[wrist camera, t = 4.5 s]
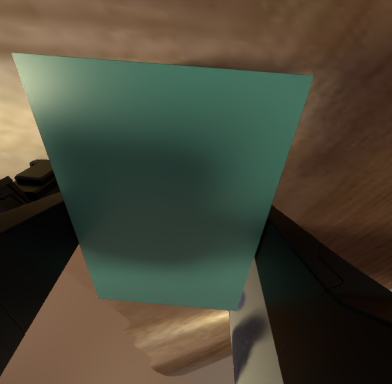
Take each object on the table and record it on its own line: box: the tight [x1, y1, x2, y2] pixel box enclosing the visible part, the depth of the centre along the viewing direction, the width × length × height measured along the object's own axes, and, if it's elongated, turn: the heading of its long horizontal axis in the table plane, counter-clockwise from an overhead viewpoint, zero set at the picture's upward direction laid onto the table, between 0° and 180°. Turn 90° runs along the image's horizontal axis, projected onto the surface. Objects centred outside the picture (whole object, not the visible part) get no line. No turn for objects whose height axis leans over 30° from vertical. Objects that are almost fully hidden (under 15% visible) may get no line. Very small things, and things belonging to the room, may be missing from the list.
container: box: [229, 258, 283, 384], centre depth 21 cm, size 10×10×20 cm
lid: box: [12, 53, 314, 311], centre depth 8 cm, size 11×7×2 cm
